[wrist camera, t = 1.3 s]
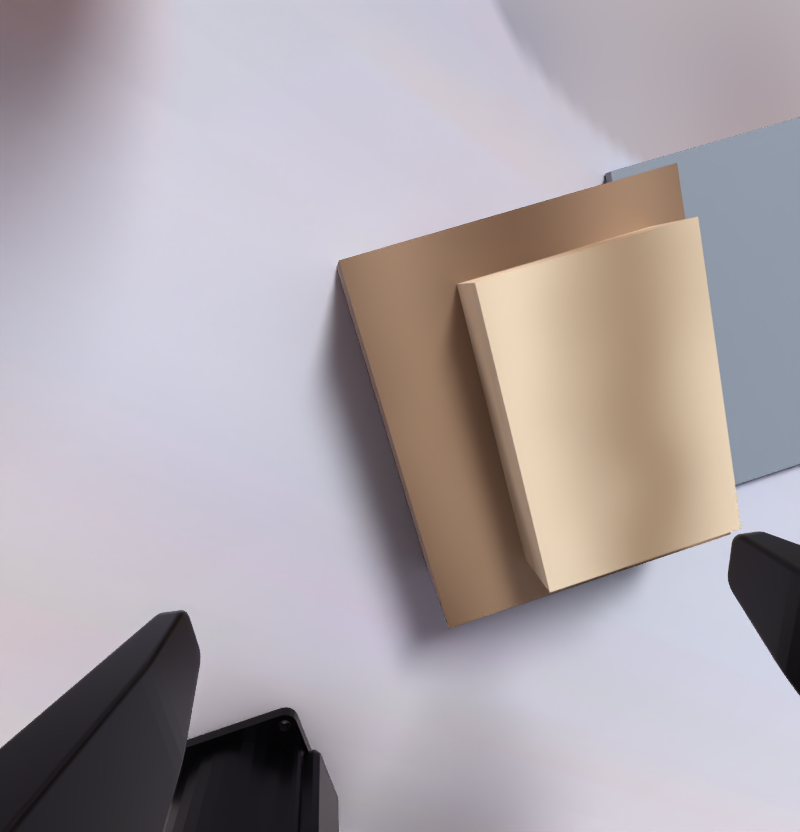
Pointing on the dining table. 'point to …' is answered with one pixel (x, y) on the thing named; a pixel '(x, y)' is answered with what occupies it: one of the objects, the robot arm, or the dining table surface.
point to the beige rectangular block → (606, 401)
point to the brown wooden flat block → (471, 376)
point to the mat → (750, 283)
